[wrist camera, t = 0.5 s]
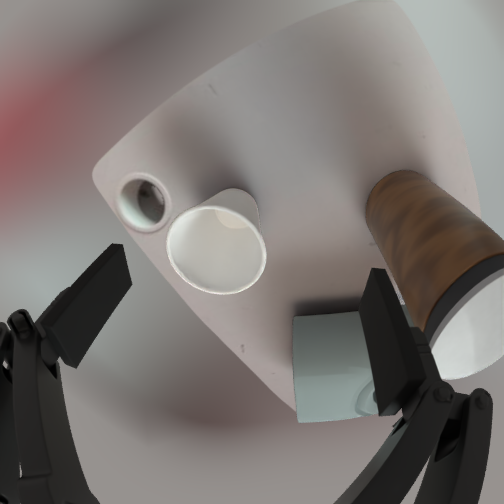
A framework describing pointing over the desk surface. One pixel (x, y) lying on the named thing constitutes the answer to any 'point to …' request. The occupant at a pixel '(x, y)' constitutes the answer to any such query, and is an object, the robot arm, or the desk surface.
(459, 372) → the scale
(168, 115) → the desk surface
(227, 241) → the cup
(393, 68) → the desk surface
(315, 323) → the sage-green arched shell
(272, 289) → the desk surface
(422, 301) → the plinth
